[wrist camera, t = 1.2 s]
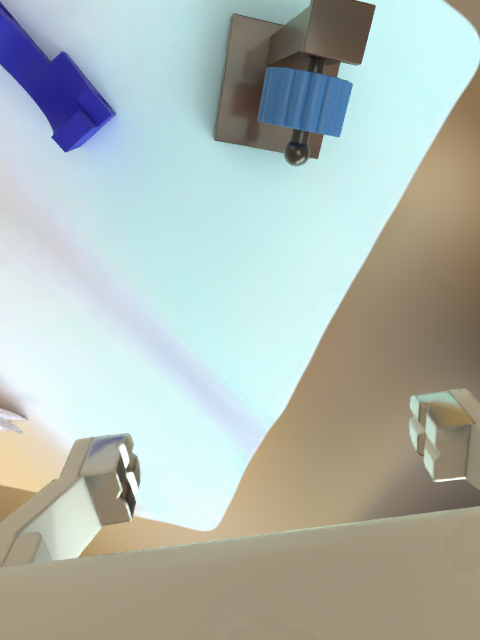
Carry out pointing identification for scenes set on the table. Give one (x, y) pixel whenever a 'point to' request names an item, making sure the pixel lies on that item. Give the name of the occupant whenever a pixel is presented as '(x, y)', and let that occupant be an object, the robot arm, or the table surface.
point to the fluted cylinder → (304, 100)
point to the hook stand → (285, 52)
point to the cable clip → (53, 86)
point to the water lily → (5, 425)
